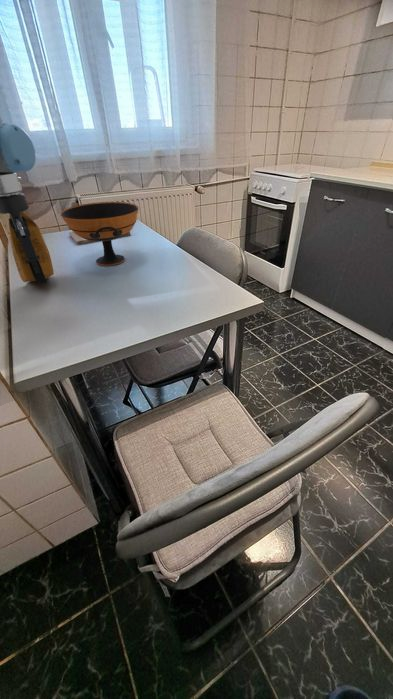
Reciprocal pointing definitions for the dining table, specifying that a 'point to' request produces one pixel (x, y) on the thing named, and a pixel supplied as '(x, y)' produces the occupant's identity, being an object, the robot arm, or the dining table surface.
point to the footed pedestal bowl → (102, 225)
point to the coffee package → (38, 246)
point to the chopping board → (81, 240)
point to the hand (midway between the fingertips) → (41, 282)
